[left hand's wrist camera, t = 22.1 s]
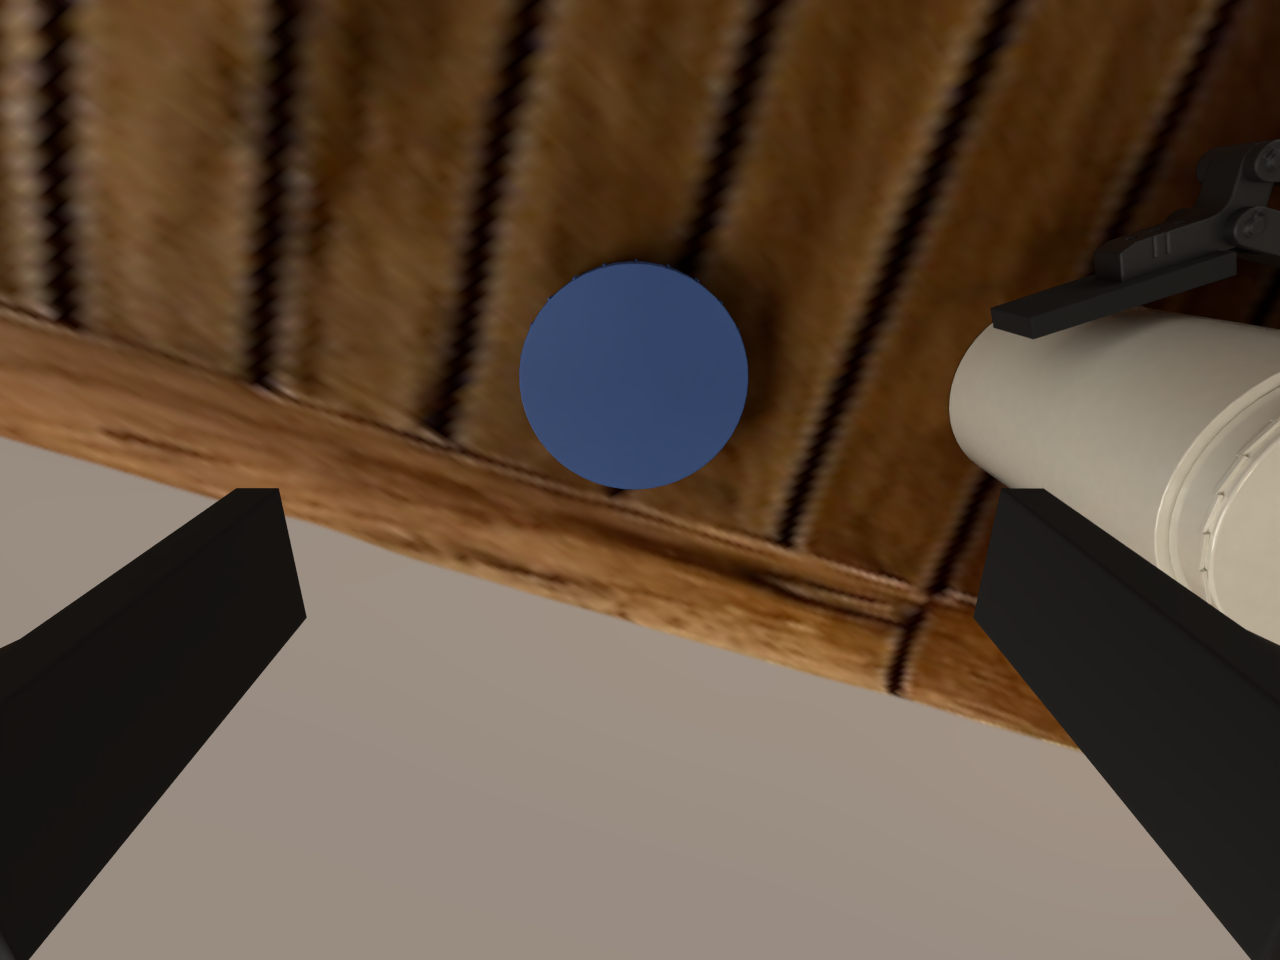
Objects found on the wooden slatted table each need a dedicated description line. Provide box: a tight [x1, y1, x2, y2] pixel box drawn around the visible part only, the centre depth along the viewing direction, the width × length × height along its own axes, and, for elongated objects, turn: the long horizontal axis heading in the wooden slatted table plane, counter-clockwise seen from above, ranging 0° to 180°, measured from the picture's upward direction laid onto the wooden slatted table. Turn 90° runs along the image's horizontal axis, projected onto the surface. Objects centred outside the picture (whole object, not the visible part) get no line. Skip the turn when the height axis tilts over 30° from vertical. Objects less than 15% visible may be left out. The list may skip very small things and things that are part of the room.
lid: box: [519, 259, 748, 489], centre depth 30 cm, size 10×10×2 cm
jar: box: [949, 306, 1280, 645], centre depth 24 cm, size 9×9×15 cm
